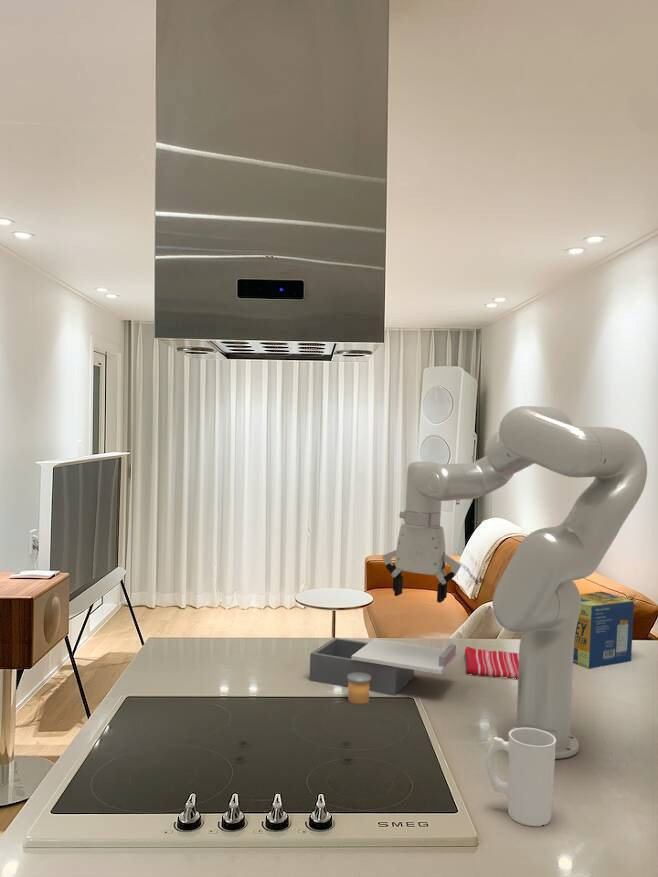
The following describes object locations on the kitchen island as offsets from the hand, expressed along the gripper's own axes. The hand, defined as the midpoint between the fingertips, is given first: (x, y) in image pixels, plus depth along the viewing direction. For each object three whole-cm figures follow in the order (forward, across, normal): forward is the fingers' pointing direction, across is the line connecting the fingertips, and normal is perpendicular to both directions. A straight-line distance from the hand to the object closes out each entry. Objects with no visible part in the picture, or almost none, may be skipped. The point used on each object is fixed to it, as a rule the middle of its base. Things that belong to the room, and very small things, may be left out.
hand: (419, 598), depth 164 cm
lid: (+14, -3, +2) cm, 15 cm away
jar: (+20, -8, -11) cm, 25 cm away
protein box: (+20, +32, +45) cm, 59 cm away
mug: (+20, +31, -41) cm, 55 cm away
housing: (+21, -13, +2) cm, 24 cm away
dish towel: (+21, +16, +27) cm, 38 cm away
